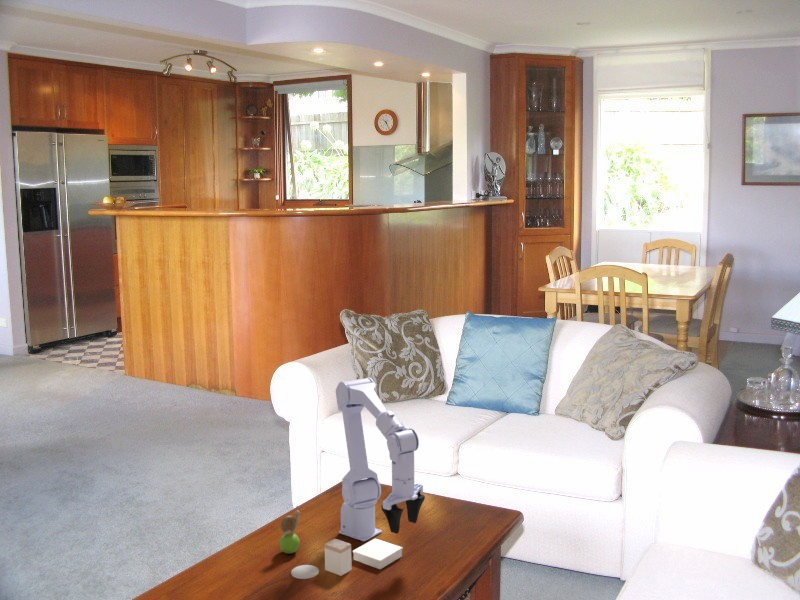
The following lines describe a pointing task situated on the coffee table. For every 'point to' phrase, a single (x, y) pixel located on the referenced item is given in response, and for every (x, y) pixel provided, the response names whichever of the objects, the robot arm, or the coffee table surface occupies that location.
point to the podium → (377, 553)
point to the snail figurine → (289, 534)
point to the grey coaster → (304, 571)
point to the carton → (338, 557)
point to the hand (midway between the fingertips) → (403, 527)
